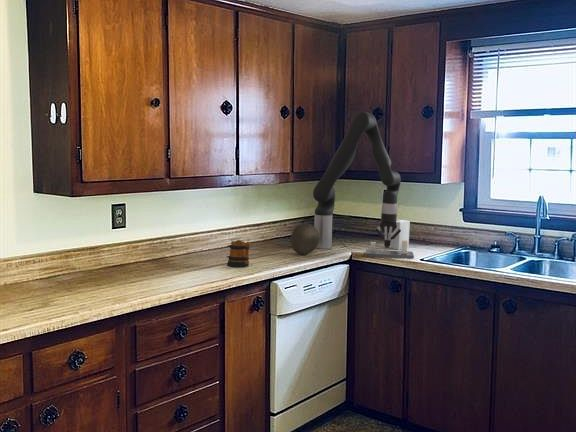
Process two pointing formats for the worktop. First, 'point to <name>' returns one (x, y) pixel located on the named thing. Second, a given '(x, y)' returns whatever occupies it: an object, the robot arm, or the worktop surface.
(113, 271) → the worktop surface
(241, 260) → the mug
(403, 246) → the fader
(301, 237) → the cantaloupe
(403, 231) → the skincare box
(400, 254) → the console
